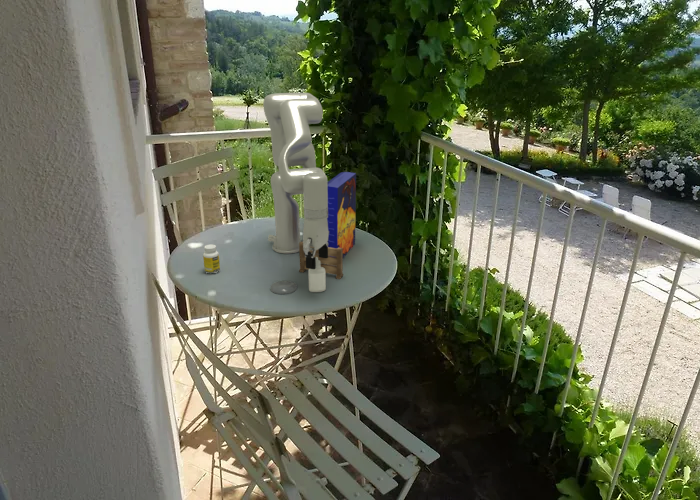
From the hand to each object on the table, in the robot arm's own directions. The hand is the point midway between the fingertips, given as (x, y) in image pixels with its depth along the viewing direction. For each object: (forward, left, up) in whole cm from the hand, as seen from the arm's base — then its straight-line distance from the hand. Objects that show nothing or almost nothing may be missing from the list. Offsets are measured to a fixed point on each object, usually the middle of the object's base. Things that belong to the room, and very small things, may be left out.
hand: (317, 262), depth 163 cm
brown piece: (-4, +12, -10) cm, 17 cm away
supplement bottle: (-41, 0, -11) cm, 43 cm away
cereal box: (-5, +32, -11) cm, 35 cm away
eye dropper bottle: (0, 0, -11) cm, 11 cm away
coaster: (-11, -3, -10) cm, 16 cm away
